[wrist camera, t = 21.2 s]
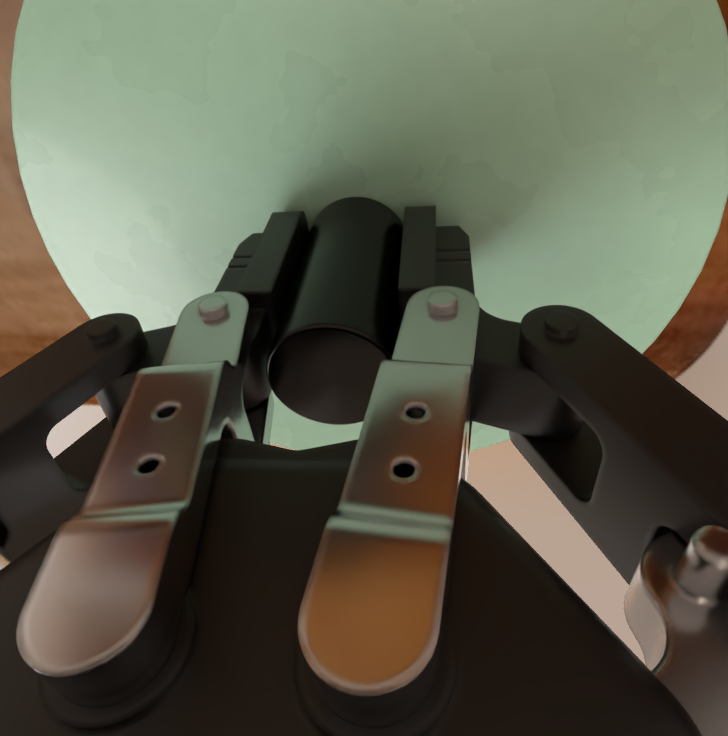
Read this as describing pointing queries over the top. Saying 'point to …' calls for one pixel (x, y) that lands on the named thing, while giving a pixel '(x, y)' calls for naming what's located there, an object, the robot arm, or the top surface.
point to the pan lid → (374, 162)
